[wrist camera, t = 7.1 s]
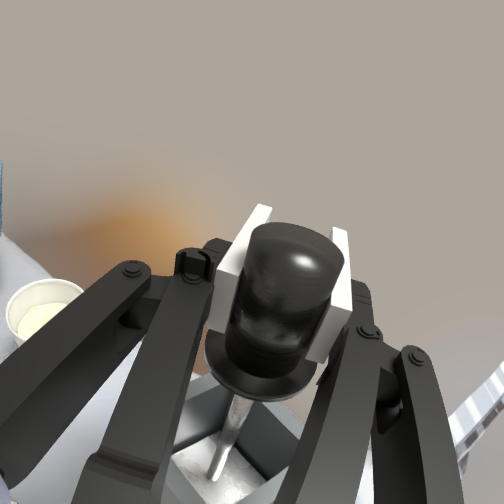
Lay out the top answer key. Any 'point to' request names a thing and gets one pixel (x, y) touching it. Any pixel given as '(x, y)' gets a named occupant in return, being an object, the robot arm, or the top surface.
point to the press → (247, 443)
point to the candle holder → (37, 306)
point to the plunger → (262, 347)
